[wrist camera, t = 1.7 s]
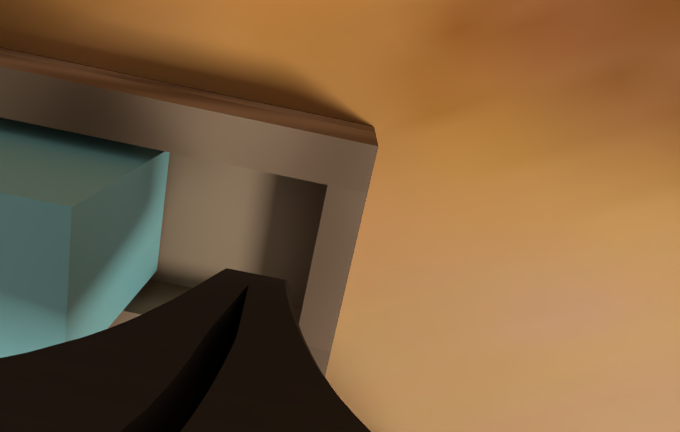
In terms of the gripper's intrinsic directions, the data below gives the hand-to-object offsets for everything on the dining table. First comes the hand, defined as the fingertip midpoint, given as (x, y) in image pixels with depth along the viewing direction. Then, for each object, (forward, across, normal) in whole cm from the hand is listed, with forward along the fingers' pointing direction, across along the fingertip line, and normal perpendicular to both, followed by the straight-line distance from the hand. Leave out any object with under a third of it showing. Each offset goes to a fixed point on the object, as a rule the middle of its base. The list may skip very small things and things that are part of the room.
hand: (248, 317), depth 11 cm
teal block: (+5, +6, 0) cm, 8 cm away
